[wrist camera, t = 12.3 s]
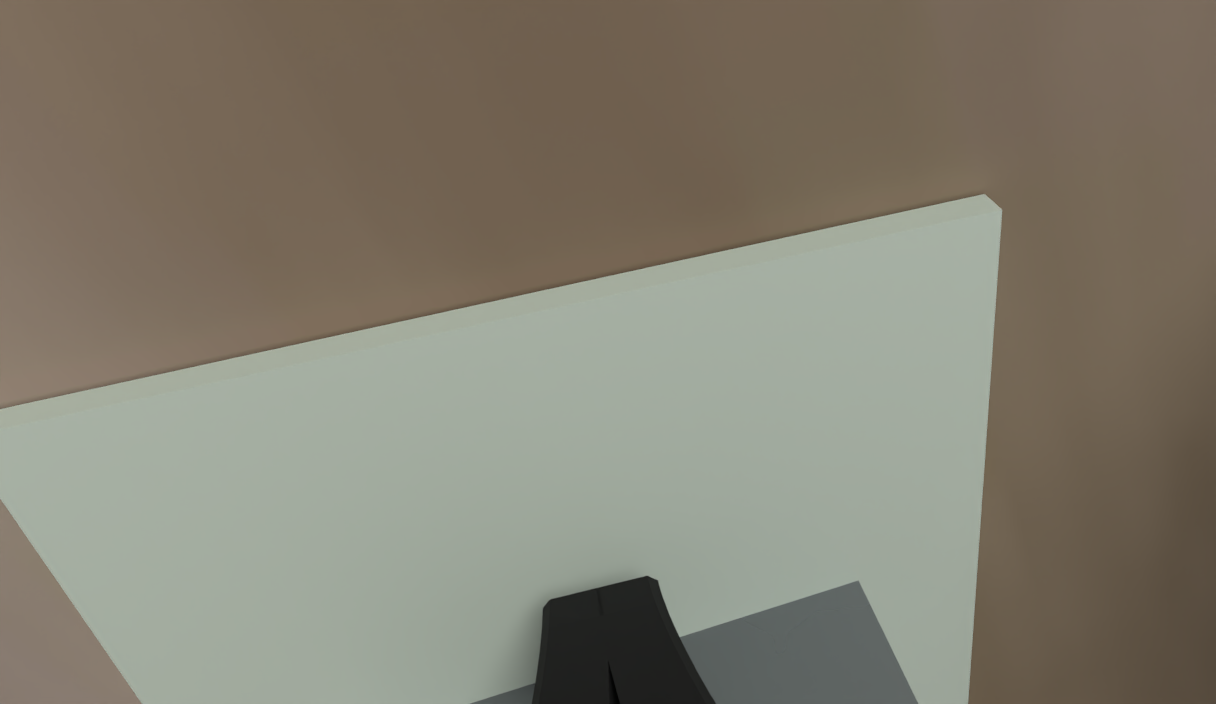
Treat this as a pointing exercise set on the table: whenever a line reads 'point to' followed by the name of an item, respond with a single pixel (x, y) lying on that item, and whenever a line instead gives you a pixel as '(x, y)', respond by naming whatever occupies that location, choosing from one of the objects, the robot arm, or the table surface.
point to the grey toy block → (792, 656)
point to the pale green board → (538, 473)
